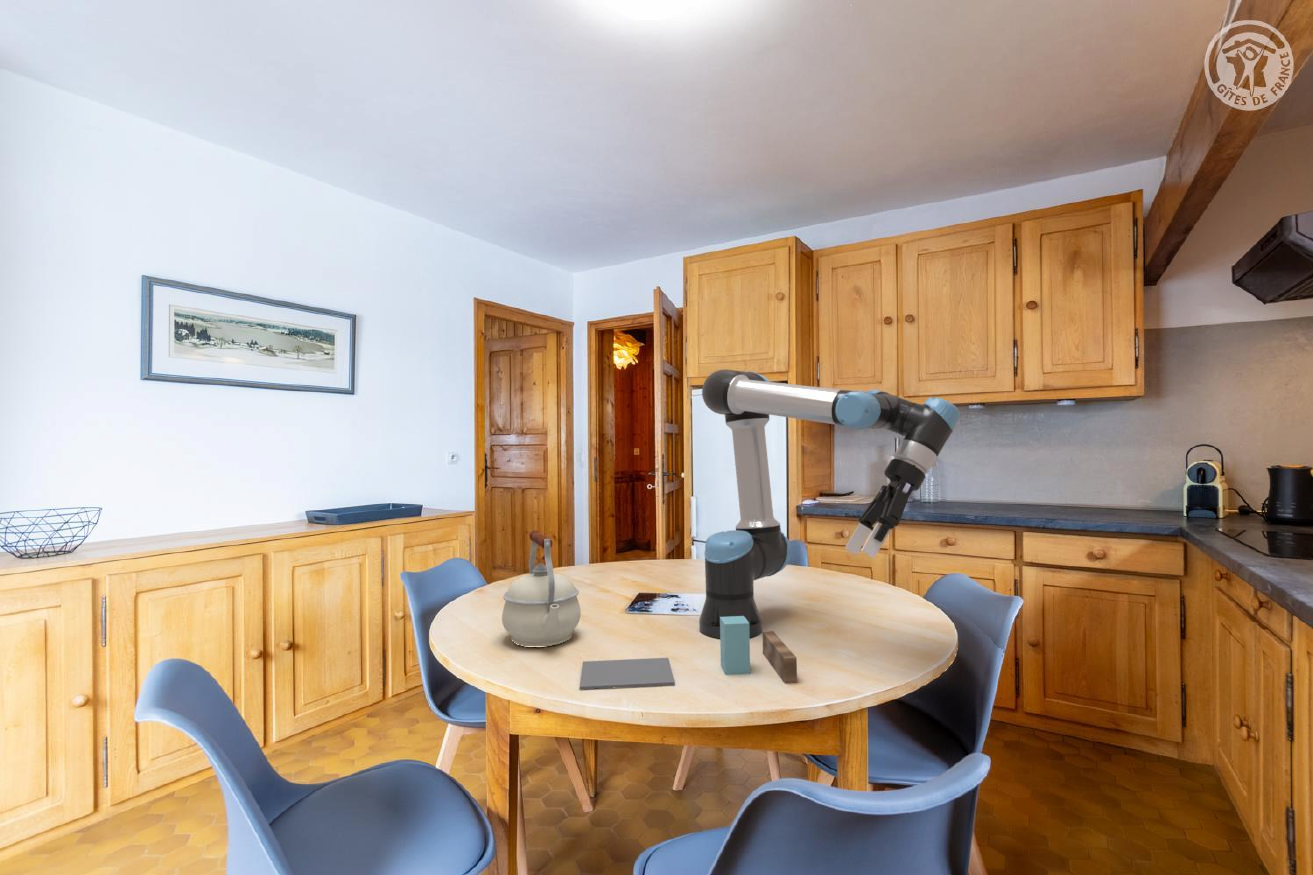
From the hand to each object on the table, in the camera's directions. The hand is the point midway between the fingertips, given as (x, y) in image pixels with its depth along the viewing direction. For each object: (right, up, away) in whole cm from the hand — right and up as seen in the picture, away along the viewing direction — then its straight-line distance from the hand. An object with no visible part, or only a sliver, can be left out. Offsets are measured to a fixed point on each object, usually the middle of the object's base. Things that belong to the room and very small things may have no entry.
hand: (858, 553), depth 124 cm
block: (-26, -23, -2) cm, 35 cm away
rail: (-17, -23, -2) cm, 29 cm away
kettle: (-68, -24, +17) cm, 75 cm away
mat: (-48, -23, -4) cm, 53 cm away
